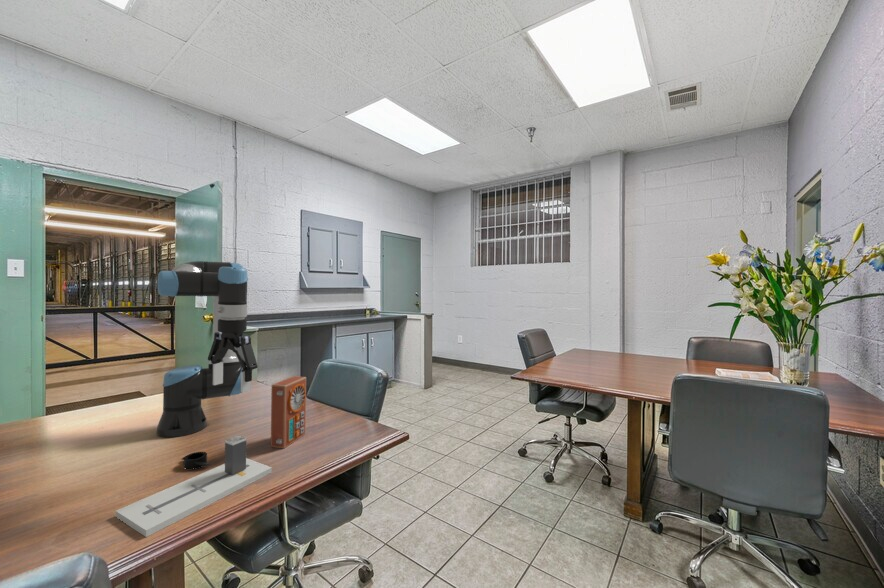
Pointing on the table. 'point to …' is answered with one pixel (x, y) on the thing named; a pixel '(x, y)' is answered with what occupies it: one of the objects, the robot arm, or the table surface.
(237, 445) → the slider handle
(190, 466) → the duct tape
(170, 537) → the table surface
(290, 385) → the control panel
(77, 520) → the table surface
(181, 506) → the fader board
